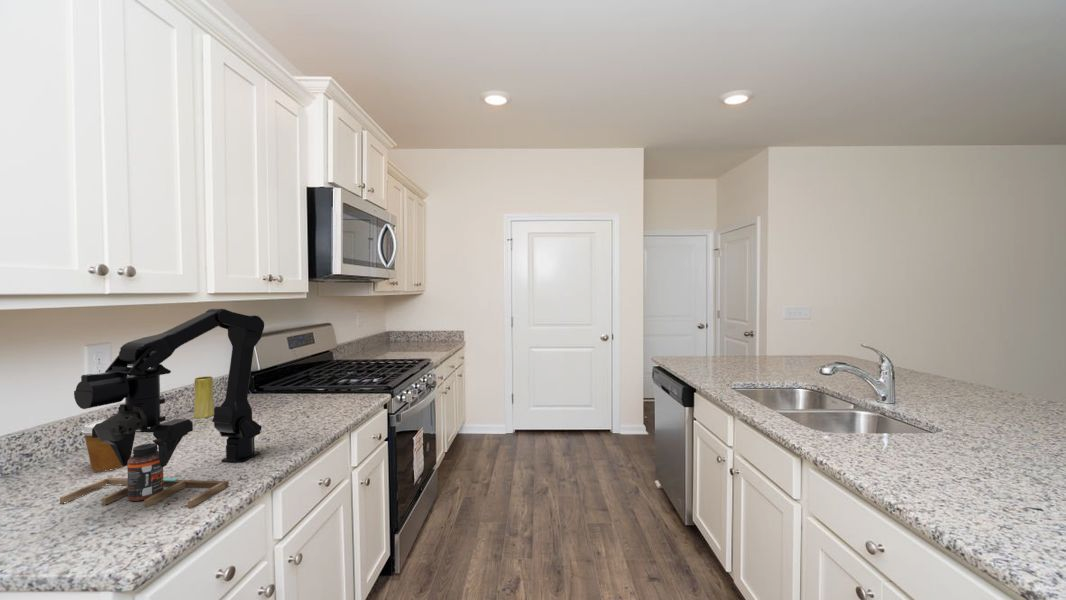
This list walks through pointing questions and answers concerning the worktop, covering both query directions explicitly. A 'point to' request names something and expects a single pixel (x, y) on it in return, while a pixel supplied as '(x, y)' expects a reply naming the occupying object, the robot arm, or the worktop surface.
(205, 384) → the vase
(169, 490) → the notched rack
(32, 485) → the worktop surface
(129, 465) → the supplement bottle
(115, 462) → the disposable coffee cup
